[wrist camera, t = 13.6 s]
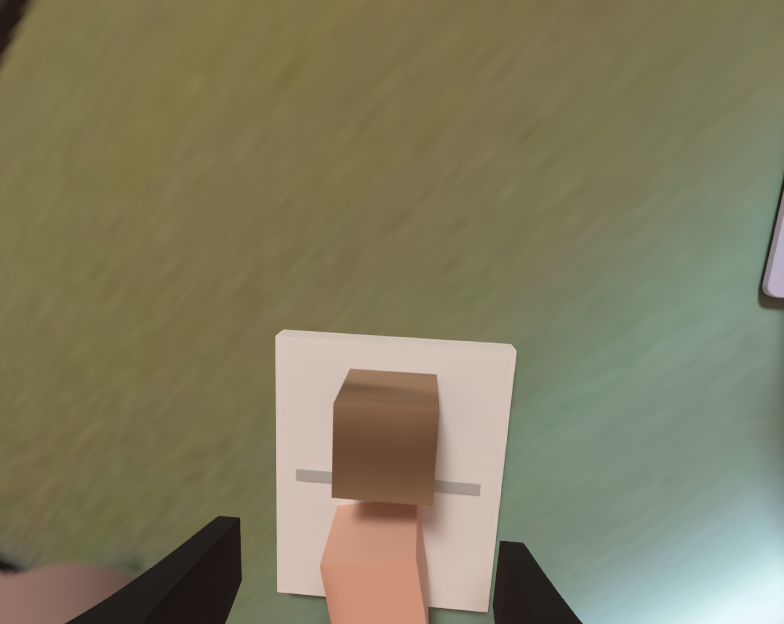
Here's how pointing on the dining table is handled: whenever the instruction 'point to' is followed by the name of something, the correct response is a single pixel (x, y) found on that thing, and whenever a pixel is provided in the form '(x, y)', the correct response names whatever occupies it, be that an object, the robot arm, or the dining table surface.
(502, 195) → the dining table surface
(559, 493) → the dining table surface
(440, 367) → the baseplate
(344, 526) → the terracotta block
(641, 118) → the dining table surface
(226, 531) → the robot arm
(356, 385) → the walnut block
